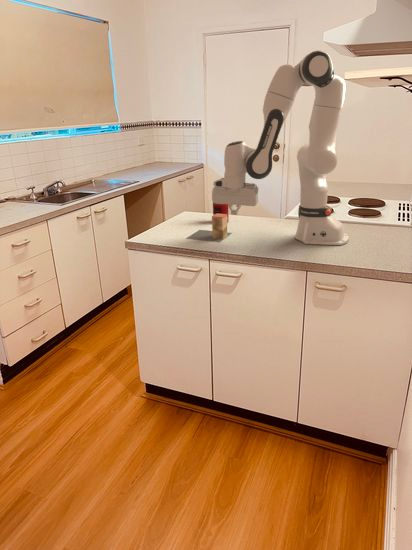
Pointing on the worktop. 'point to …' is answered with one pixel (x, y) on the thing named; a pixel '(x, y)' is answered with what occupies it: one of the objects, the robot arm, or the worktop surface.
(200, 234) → the slate mat
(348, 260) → the worktop surface
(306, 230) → the robot arm
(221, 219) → the oak block
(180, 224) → the worktop surface
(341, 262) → the worktop surface
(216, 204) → the canned food
